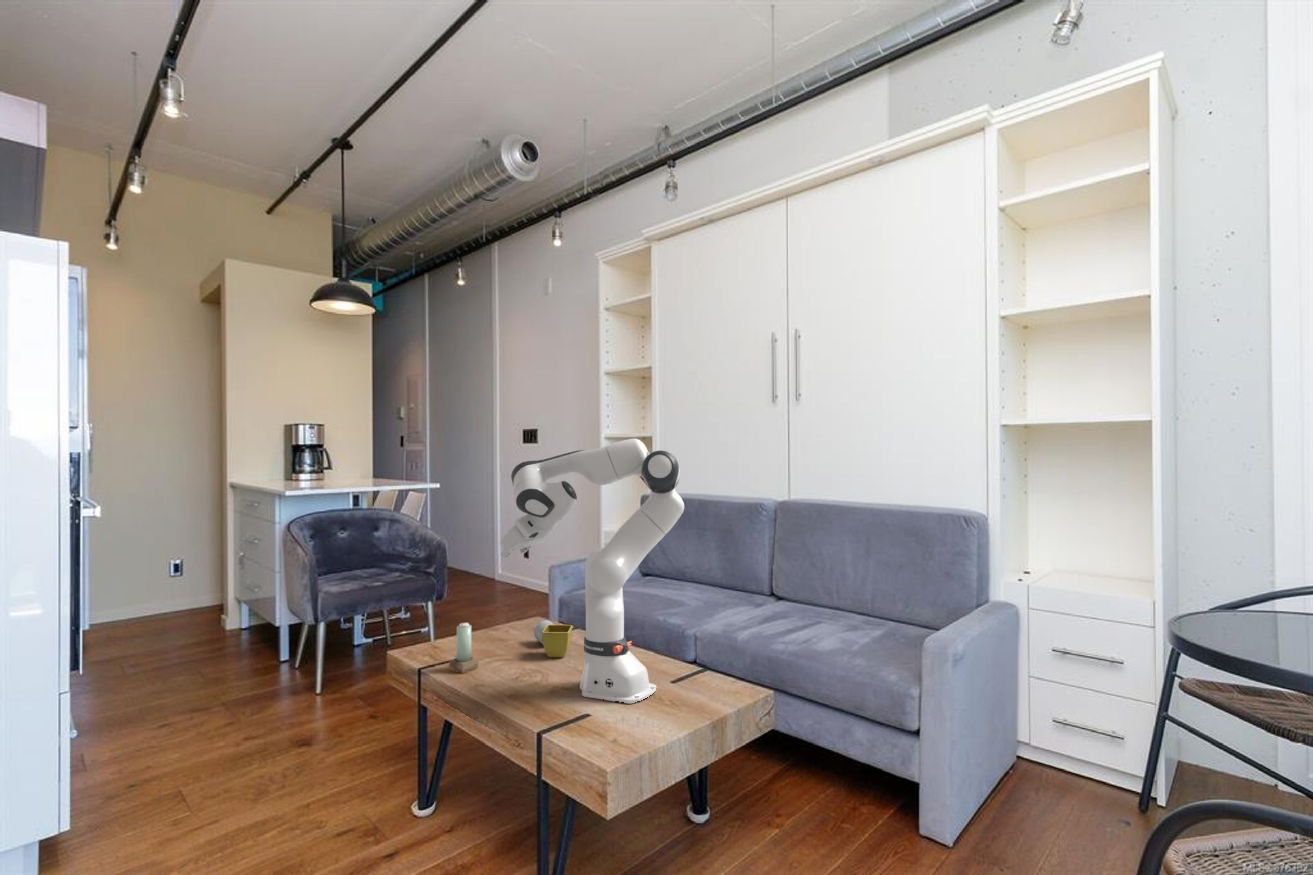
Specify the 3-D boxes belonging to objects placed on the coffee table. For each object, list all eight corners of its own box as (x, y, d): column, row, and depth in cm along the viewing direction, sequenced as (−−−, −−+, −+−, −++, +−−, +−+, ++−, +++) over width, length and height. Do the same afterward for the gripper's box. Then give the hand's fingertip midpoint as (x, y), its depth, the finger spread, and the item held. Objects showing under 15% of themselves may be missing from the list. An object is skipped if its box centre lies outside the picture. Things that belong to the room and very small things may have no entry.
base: (477, 668, 201) (477, 658, 201) (462, 673, 196) (462, 663, 196) (464, 664, 204) (464, 654, 204) (449, 670, 199) (449, 659, 199)
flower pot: (568, 660, 209) (568, 632, 209) (541, 659, 209) (541, 632, 210) (572, 651, 218) (572, 624, 218) (546, 651, 218) (546, 624, 218)
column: (474, 658, 201) (474, 623, 201) (462, 662, 197) (463, 626, 197) (464, 655, 203) (464, 621, 203) (453, 659, 199) (453, 624, 200)
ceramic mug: (542, 649, 220) (542, 626, 221) (533, 643, 227) (534, 621, 228) (570, 645, 226) (571, 623, 226) (561, 639, 233) (562, 617, 233)
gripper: (552, 513, 210) (526, 541, 214) (513, 519, 191) (486, 550, 195) (563, 528, 208) (537, 556, 212) (525, 535, 189) (498, 566, 193)
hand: (513, 553), depth 203 cm, fingers open, 8 cm apart
